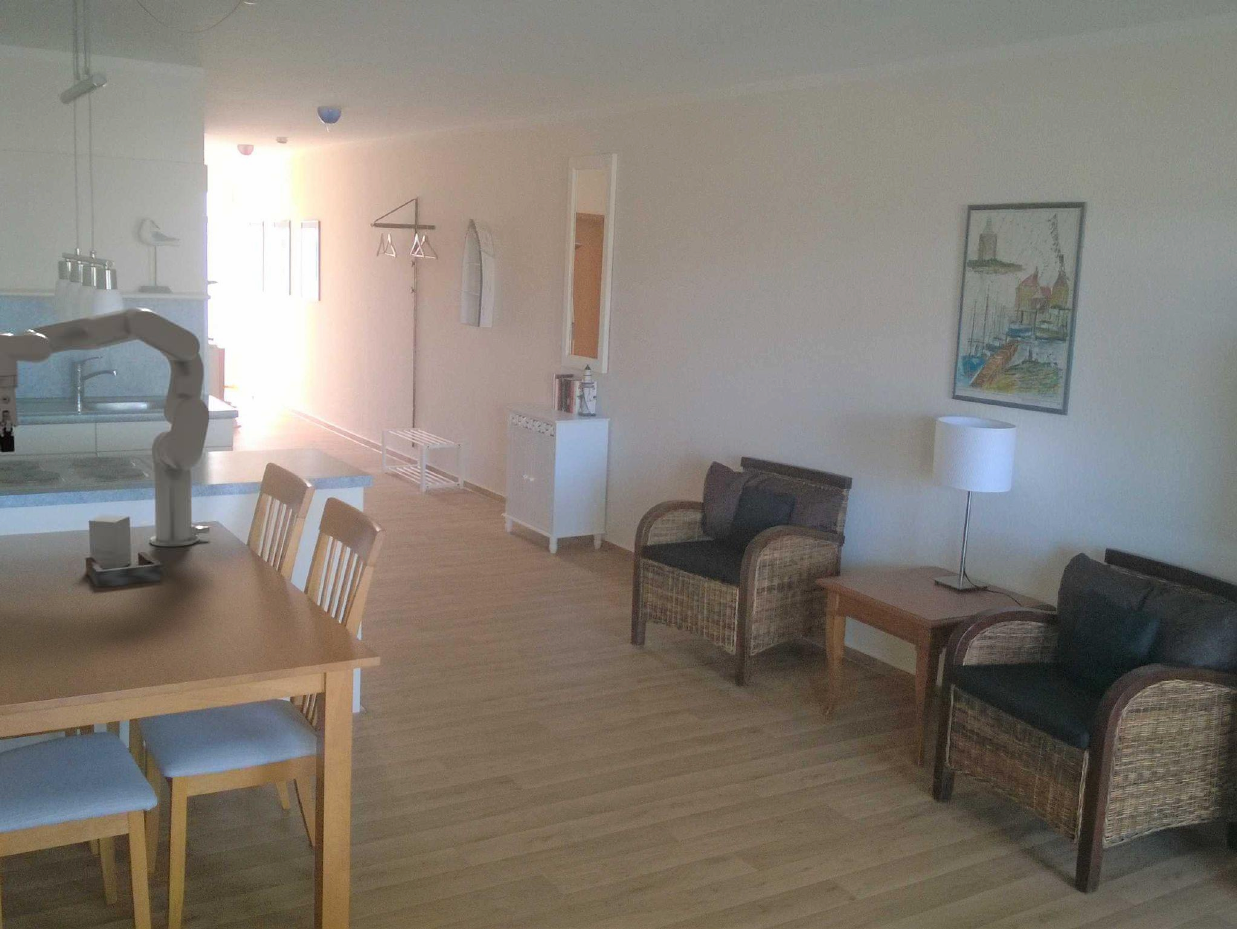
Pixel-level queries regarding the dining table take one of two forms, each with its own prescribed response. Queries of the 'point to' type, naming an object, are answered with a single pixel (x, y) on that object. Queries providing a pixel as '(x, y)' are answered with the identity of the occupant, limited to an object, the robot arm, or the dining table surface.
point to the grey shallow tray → (125, 572)
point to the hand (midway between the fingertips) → (3, 448)
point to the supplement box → (110, 541)
